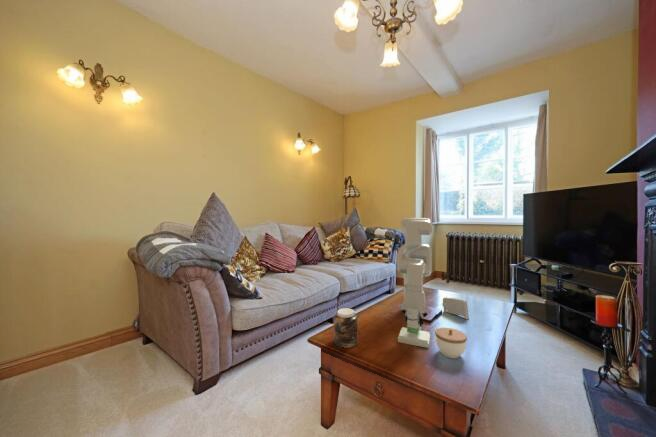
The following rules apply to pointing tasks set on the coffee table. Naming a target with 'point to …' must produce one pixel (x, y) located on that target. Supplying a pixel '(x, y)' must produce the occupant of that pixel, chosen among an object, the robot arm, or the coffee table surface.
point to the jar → (345, 328)
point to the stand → (414, 338)
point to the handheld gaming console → (456, 306)
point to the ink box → (413, 320)
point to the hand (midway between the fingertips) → (414, 323)
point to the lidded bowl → (450, 342)
